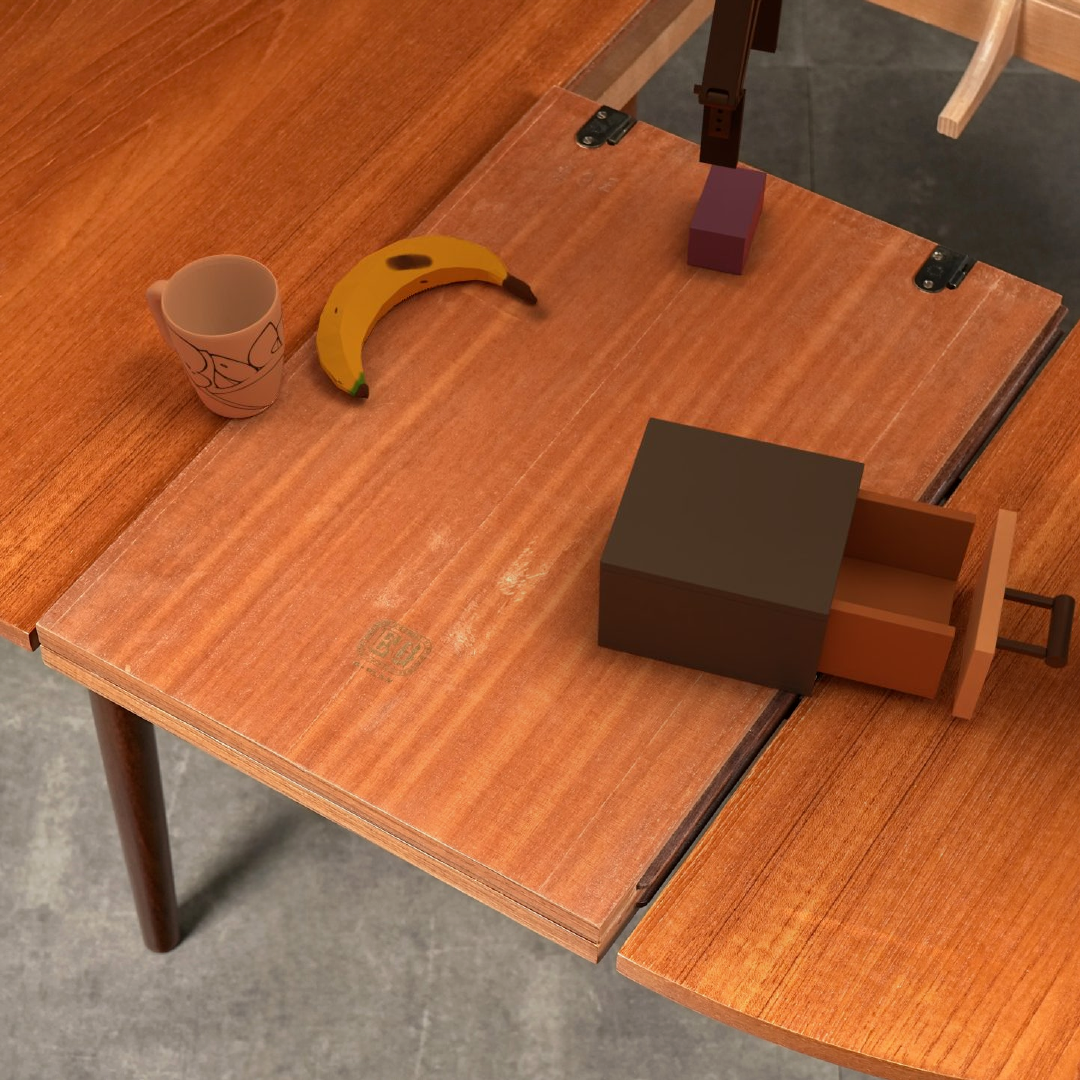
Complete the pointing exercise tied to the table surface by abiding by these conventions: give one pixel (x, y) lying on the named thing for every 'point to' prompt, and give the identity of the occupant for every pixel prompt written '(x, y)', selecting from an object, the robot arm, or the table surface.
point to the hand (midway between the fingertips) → (739, 103)
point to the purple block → (726, 219)
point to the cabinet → (727, 555)
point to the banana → (397, 295)
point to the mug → (224, 331)
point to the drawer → (926, 600)
